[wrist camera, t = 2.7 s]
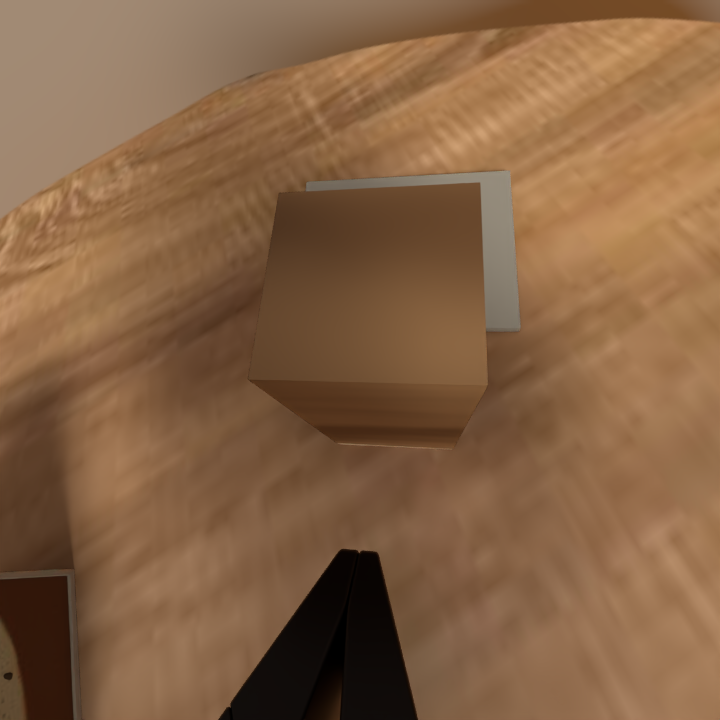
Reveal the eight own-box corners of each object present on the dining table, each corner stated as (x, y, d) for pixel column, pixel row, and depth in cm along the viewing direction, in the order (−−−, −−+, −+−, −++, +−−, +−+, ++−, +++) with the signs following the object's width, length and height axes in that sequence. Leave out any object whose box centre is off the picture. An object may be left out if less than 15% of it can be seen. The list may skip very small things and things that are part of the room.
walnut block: (452, 450, 17) (487, 384, 8) (338, 444, 18) (247, 379, 9) (452, 341, 19) (480, 181, 10) (346, 340, 20) (278, 192, 10)
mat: (518, 331, 18) (520, 328, 18) (289, 330, 20) (286, 327, 20) (508, 176, 21) (509, 170, 21) (308, 186, 23) (306, 181, 23)
